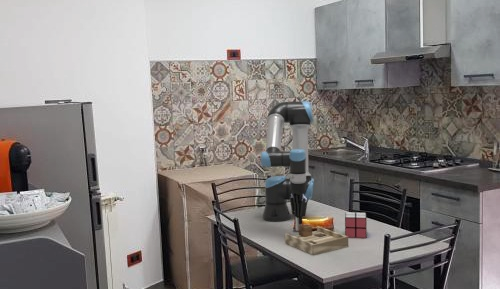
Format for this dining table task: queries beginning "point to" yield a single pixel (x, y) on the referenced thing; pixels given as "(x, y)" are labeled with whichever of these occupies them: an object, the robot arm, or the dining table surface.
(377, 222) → the dining table surface
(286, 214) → the robot arm
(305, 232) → the block
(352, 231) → the puzzle cube
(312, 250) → the wooden sorting tray
